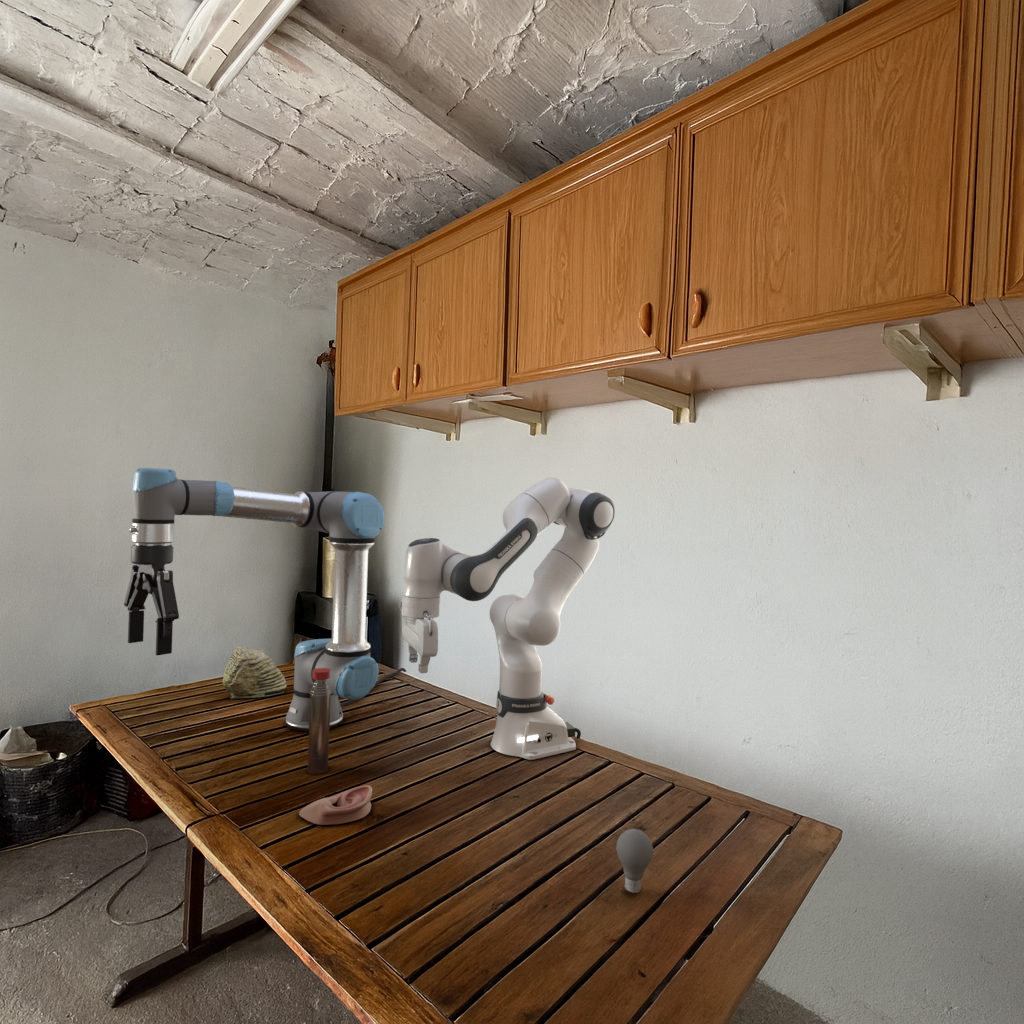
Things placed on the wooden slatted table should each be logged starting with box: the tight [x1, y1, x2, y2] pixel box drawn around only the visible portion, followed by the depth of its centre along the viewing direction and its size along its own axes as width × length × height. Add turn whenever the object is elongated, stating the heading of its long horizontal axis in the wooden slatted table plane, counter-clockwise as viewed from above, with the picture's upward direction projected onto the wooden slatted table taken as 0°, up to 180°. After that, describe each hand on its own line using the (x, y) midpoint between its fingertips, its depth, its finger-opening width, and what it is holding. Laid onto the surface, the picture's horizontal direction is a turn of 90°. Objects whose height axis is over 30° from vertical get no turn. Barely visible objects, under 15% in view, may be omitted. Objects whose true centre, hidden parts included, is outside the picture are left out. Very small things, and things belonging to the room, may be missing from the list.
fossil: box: [222, 646, 288, 699], centre depth 198 cm, size 9×18×15 cm, turn 132°
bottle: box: [306, 679, 331, 775], centre depth 146 cm, size 5×5×23 cm
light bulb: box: [615, 828, 654, 894], centre depth 106 cm, size 6×6×10 cm
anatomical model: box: [298, 784, 373, 826], centre depth 127 cm, size 13×4×12 cm
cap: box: [312, 668, 330, 680], centre depth 146 cm, size 4×4×2 cm
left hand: (149, 648), depth 129 cm, fingers open, 13 cm apart
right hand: (417, 667), depth 148 cm, fingers open, 8 cm apart
